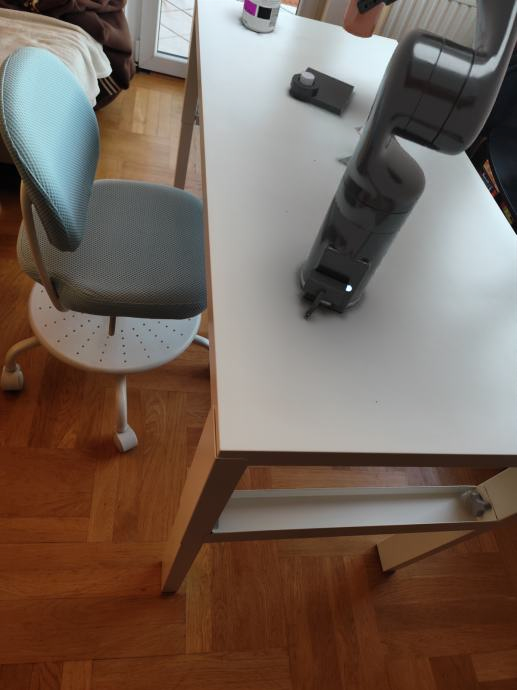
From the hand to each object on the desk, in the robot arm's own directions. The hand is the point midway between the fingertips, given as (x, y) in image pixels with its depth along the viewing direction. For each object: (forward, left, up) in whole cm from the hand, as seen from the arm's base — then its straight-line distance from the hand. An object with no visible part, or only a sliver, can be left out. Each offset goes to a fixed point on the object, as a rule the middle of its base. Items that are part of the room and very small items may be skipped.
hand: (357, 1), depth 88 cm
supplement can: (+20, +23, -18) cm, 36 cm away
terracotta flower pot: (0, -2, -4) cm, 5 cm away
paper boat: (-16, -13, -18) cm, 28 cm away
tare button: (-3, +4, -16) cm, 16 cm away
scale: (+1, +1, -18) cm, 18 cm away
